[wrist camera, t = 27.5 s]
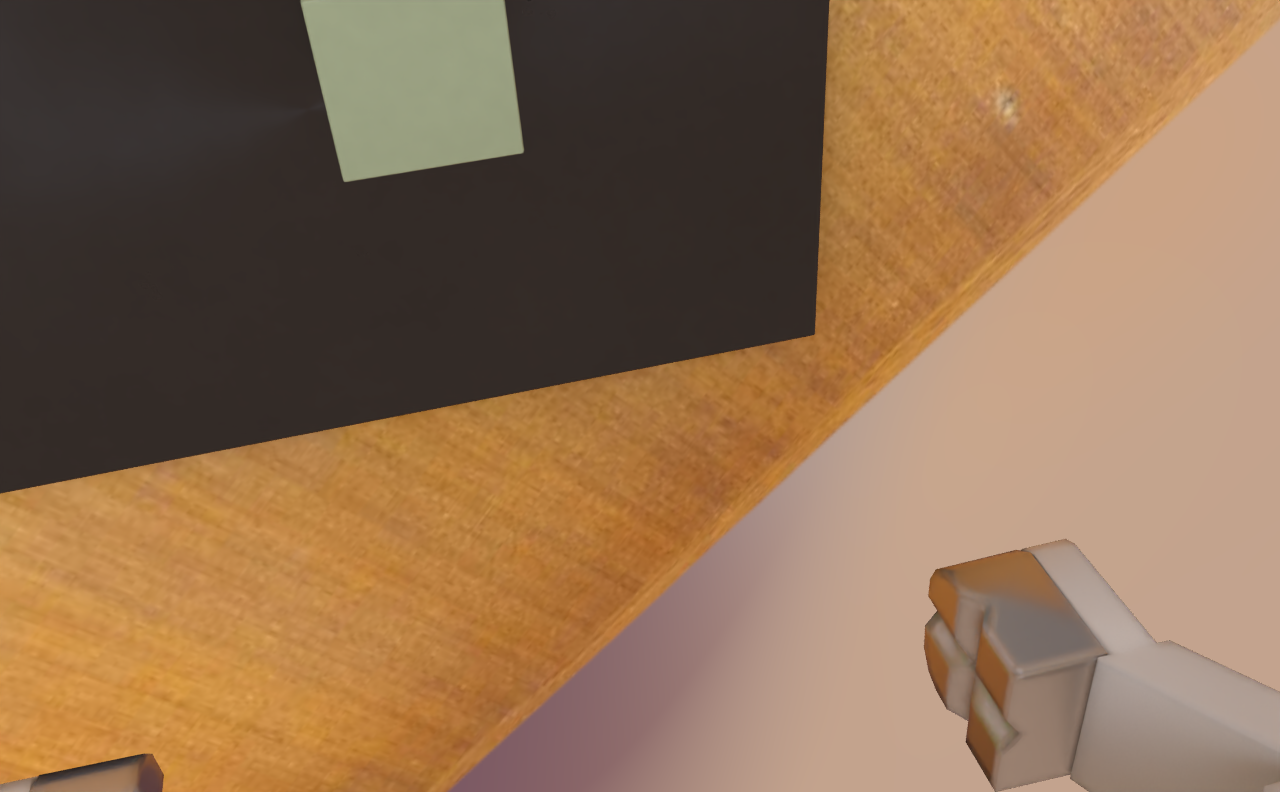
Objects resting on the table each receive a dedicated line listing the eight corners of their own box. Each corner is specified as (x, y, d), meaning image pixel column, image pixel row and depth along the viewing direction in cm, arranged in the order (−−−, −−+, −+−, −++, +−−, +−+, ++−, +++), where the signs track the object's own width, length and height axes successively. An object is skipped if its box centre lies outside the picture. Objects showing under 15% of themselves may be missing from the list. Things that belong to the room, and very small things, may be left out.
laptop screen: (-579, -304, 24) (-604, -297, 23) (835, -433, 28) (848, -430, 27) (-90, 493, 37) (-97, 513, 37) (806, 321, 42) (815, 335, 41)
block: (476, -84, 30) (501, -27, 27) (498, 83, 33) (524, 154, 29) (297, -60, 29) (299, 1, 26) (336, 108, 32) (343, 183, 29)
